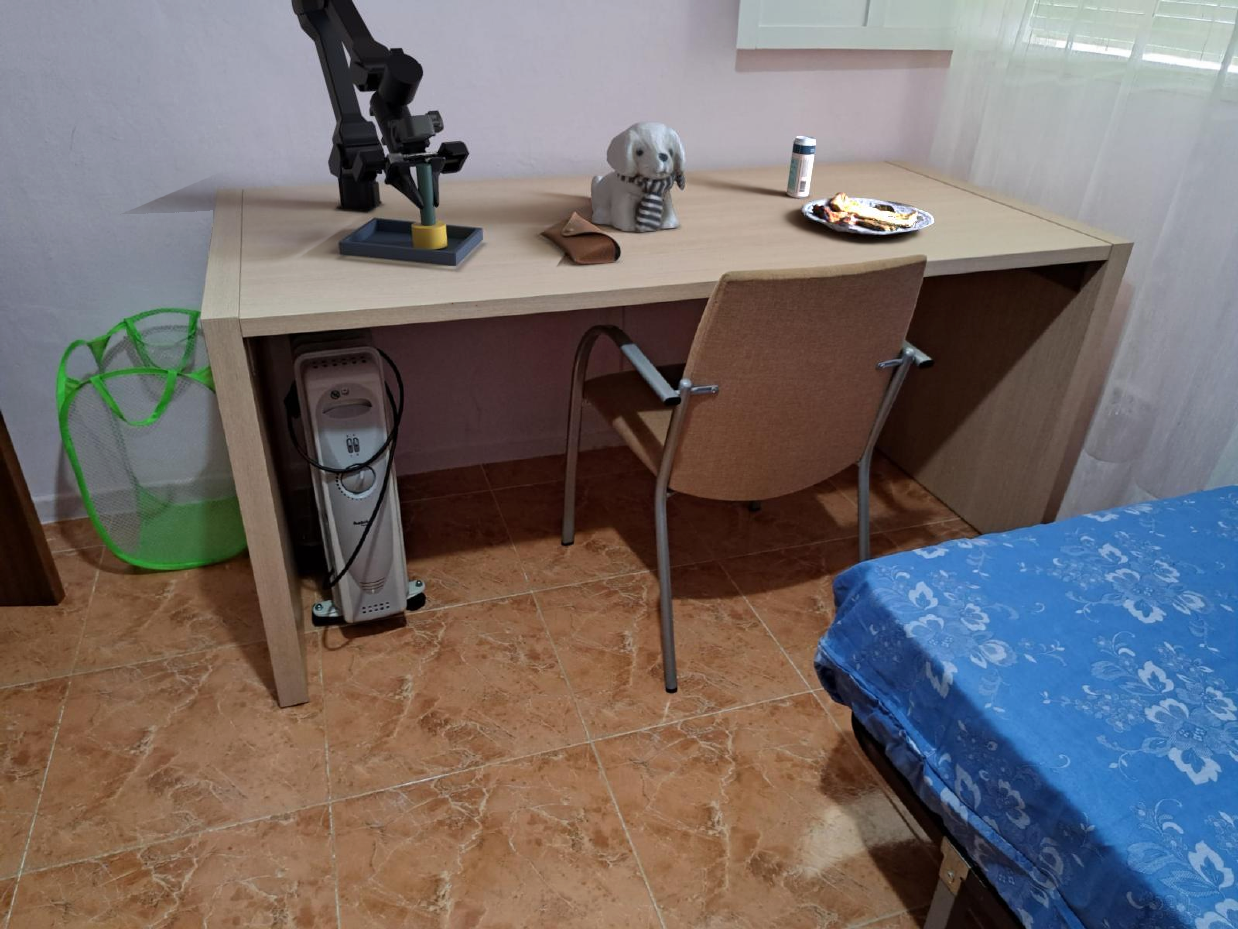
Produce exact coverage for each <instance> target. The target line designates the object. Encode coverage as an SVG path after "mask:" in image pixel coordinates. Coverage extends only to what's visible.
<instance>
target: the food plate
mask: <svg viewBox="0 0 1238 929" xmlns="http://www.w3.org/2000/svg"><path fill="white" fill-rule="evenodd" d="M800 213H801V214H802V215H801V216H802V217H804V218H807V217H808V220H811V221H816V222H818V223H822V224H823V225H825V226H827V227H828V228H829V229H832V230H834V231H835V232H841V233H845V232H847V233H851V234H855V233H856V234H860V235H872V236H876V235H879V236H885V235H895V234H899V233H905V232H911V231H919V230H920V229H924V228H927V227H929V226H930V225H933V224H934V217H933V215H931V214H930V213H929V212H926V211H924V210H921V209H918V208H916V207H914V205H910V204H907V203H902V202H897V201H892V200H891V201H890V200H883V199H874V198H863V197H848V195H846V194H845V193H844V192H837V193H836V194H835V196H833V197H831V198H829V197H828V198H827V197H826V198H820V199H815V200H810V201H808V202H806V203H804V204H802V206H801V210H800ZM888 216H893V217H888ZM894 217H895V218H894ZM873 219H874V220H873ZM878 220H879V221H878ZM915 221H917V222H918V223H917V222H915ZM914 222H915V223H914ZM892 223H894V224H892ZM913 223H914V225H913ZM895 224H897V225H895ZM900 225H901V226H900ZM911 225H913V226H912V227H906V226H911ZM885 230H886V231H885Z"/></svg>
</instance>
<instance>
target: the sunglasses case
mask: <svg viewBox="0 0 1238 929" xmlns="http://www.w3.org/2000/svg"><path fill="white" fill-rule="evenodd" d="M540 235H542V236H544V237H545V238H547V239H548V240H550V241H551V242H552V243H554V244H555V245H556V246H557V247H559V248H560V249H561V250H563V251H564V252H565V253H564V255H565V256H566V257H567V258H569V259H570V260H571V261H573V262H574V263H577V264H582V265H583V264H585V265H600V264H601V265H602V264H611V263H616V262H617V261H618V260H619V259H620V257H621V256H622V249H621V246H620V244H619V242H618V241H617V240H616V239H614V238H613V237H612V236H610V235H608V233H607V234H606V233H605V232H604V231H602V230H601V229H600V228H598V227H597V226H596V225H594V224H593V223H592V222H590V221H589V220H586V219H584V218H583V217H582V216H580V215H578V213H576V211H572V213H571V215H569V216H567V217H566V218H564V219H562V220H560V221H558V222H557V223H555V224H553V225H552V226H549V227H548V228H546V229H545V230H543V231H541V232H540Z"/></svg>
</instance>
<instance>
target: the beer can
mask: <svg viewBox="0 0 1238 929" xmlns="http://www.w3.org/2000/svg"><path fill="white" fill-rule="evenodd" d="M816 145H817V142H816V138H815V137H813V136H808V135H798V136H796V137H795V139H794V141H793V143H792V150H791V156H790V157H791V158H790V165H789V171H788V172H789V173H788V179H787V187H786V194H787V195H788V197H791V198H796V199H804V198H806V197H808V196H809V194H810V186H811V179H812V174H813V165H814V161H815V160H814V159H815V152H816Z"/></svg>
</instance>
